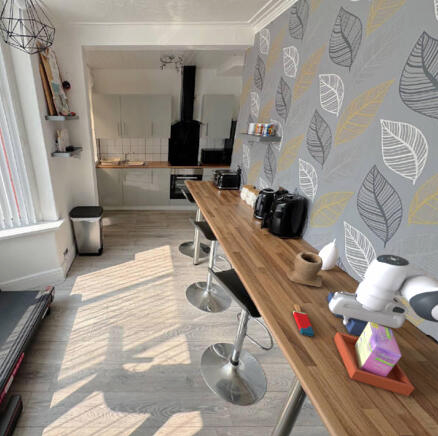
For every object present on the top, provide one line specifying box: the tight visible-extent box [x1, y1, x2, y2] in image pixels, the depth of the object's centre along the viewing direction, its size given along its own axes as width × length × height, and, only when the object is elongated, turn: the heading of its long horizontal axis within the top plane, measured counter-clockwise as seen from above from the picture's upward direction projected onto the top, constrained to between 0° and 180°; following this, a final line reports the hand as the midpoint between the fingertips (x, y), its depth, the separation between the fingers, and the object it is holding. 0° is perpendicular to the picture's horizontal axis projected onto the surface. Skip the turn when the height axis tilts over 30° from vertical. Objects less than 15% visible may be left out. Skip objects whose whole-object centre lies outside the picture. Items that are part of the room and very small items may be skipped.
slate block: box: [344, 317, 368, 337], centre depth 86 cm, size 5×5×5 cm
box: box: [354, 322, 402, 377], centre depth 72 cm, size 10×6×12 cm, turn 147°
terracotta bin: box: [333, 331, 415, 397], centre depth 74 cm, size 14×15×4 cm
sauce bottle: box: [318, 238, 339, 271], centre depth 118 cm, size 8×8×18 cm
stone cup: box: [286, 251, 324, 288], centre depth 109 cm, size 15×12×15 cm
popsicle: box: [292, 303, 315, 338], centre depth 90 cm, size 4×2×15 cm
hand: (356, 326), depth 86 cm, fingers closed on slate block, 5 cm apart
